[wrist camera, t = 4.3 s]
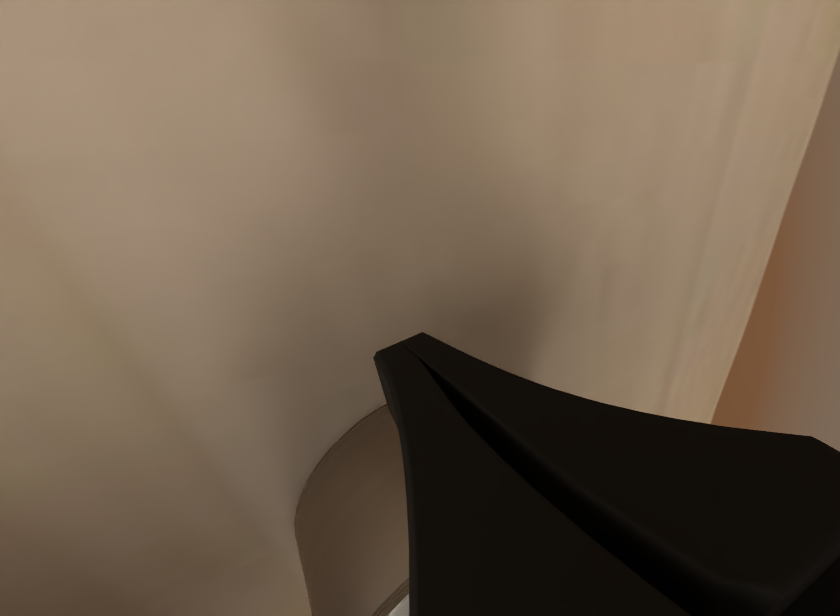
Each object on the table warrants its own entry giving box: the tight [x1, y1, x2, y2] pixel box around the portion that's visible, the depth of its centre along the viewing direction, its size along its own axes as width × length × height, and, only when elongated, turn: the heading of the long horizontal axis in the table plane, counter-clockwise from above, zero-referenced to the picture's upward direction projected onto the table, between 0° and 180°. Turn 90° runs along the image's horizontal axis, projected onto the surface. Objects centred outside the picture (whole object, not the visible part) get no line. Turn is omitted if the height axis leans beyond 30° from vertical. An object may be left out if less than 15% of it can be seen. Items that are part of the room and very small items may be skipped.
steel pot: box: [295, 405, 409, 616], centre depth 12 cm, size 9×9×5 cm
